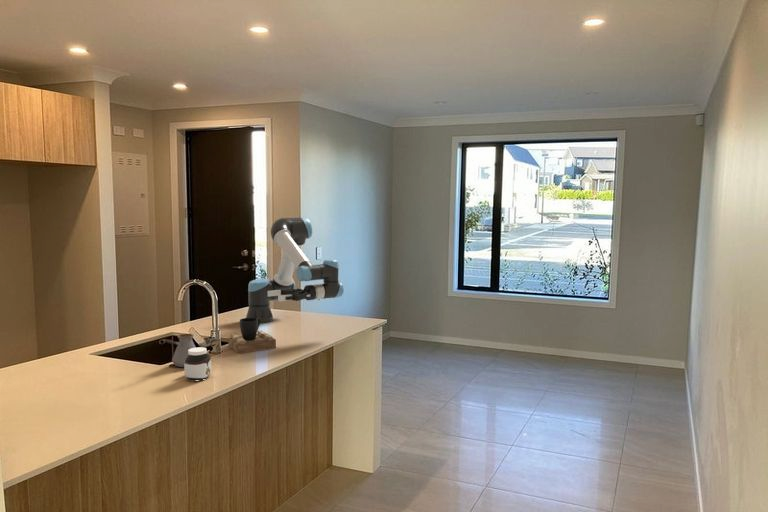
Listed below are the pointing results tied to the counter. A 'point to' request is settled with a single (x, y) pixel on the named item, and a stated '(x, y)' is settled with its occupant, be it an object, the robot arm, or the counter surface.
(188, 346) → the coffee pot
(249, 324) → the mug
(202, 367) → the spread jar
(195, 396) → the counter surface
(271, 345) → the brown piece
